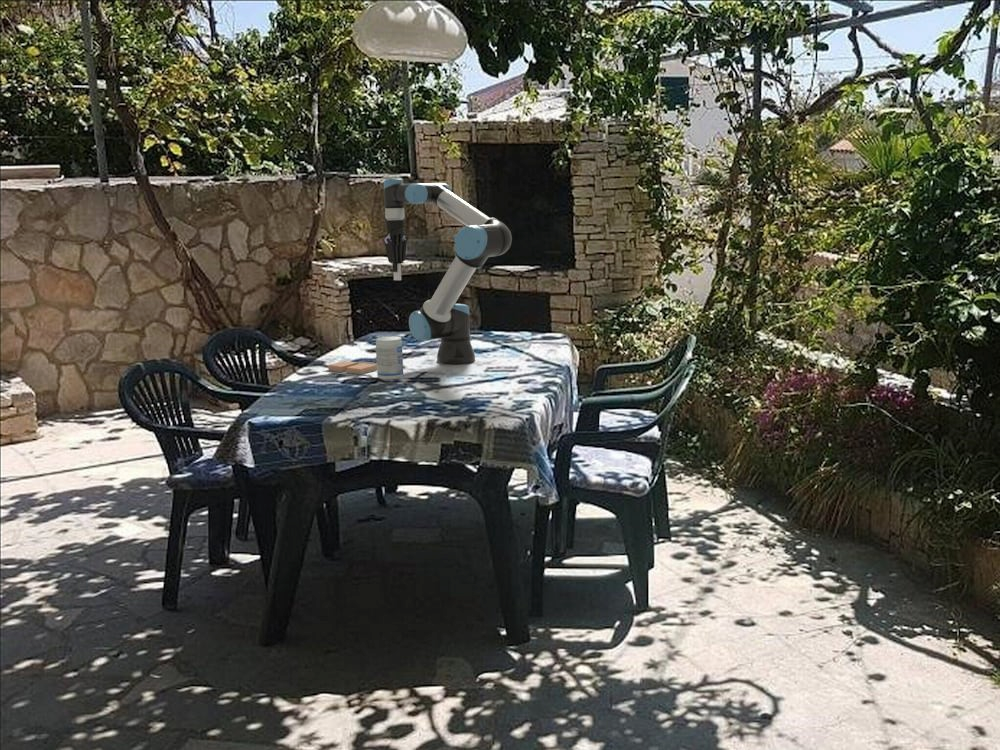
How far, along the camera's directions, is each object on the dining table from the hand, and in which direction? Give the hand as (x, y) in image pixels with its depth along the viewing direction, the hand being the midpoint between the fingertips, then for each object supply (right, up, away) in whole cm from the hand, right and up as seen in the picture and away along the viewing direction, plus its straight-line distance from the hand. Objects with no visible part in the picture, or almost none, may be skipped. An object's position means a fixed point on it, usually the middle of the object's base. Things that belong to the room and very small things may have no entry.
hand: (397, 280), depth 347 cm
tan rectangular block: (-9, -34, -10) cm, 37 cm away
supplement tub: (0, -39, -24) cm, 46 cm away
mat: (-14, -35, -8) cm, 39 cm away
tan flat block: (-17, -33, -5) cm, 38 cm away
